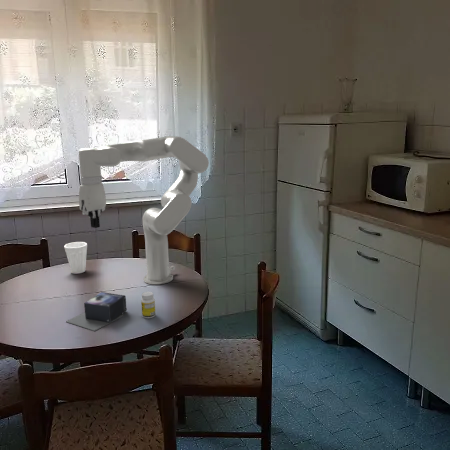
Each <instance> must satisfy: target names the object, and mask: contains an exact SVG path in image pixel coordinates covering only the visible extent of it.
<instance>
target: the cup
mask: <svg viewBox="0 0 450 450" xmlns="http://www.w3.org/2000/svg"><path fill="white" fill-rule="evenodd" d="M63 247H64V251H65V254H66V257H67V261H68V266H69V268H70V272H71V273H72V274H82V273H84V272H86V269H87V267H86V266H87V252H88V251H87V250H88V243H87V242H85V241H75V242H69V243H65V245H64V246H63ZM71 273H70V274H71Z"/></svg>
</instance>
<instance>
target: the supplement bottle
mask: <svg viewBox="0 0 450 450" xmlns="http://www.w3.org/2000/svg"><path fill="white" fill-rule="evenodd" d="M155 301H156V300H155V298H154V292H152V291H144V292H142V294H141V300H140V303H141V315H142V317H143V318H144V319H152V318H154V317H156V302H155Z"/></svg>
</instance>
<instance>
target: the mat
mask: <svg viewBox="0 0 450 450" xmlns="http://www.w3.org/2000/svg"><path fill="white" fill-rule="evenodd" d="M124 316H125V314H124V313H122V314H121V315H120V316H118V317H117V318H116V319H114V320H113V321H112V322H110V323H109V322H103V321H97V320H91V319H86V317H85V311H84V312H82V313H81V314H78V315H75V316H74V317H72V318H70V319H68V320H65V321H66V323H67V324H71V325H74V326H77V327H80V328H84V329H86V330H89V331H93V332H96V331H99V330H100V329H101V328H104V327H105V326H107V325H109V324H111V323H113V322H114V321H117V320H118V319H121V318H122V317H124Z"/></svg>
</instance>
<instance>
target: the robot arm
mask: <svg viewBox="0 0 450 450" xmlns="http://www.w3.org/2000/svg"><path fill="white" fill-rule="evenodd" d="M166 158H175V159H177V161H179V175H178V177H177V178H176V180H175V181H174V182H173V184H171V186H170V187H169V188H168V189H167V190H166V191H165V192H164V193H163V195H162V197H161V199H160V205H161V207H162V209H161V208H159V207H150V208H148V209H147V210H146V211H144V212H143V215H142V229H143V233H144V242H145V246H144V247H145V260H146V263H145V264H146V275H145V276H144V277H143V282H144V283H146V284H149V285H164V284H167V283H170V282H171V281H172V280H173V279H174V275H173V274H171V273H172V271H174V270H176V266H175V265H171V266H170V265H169V264H170V263H169V241H168V235H169V234H171V232H173V231H174V230H175V229H176V228H177V227H178V225H179V224H180V223H181V222H182V220H184V218H185V217H186V216H187V215H188V214H189V212H190V210H191V208H192V205H193V204H192V198H191V197H190V196H191V194H192V193H193V192H194V190H195V189H196V187H197V185H198V182H199V181H198V179H199V174H202V173H205V171H207V170H208V168H209V164H210V162H209V158H208V157H207V155H206V154H205V153H204V152H203V151H201V150H200V149H199V148H197V147H196V146H194V144H192V143H191V142H189V141H188V140H186V139H185V138H183V137H181V136H176V135H175V136H174V135H168V136H161V137H155V138H153V137H152V138H148V139H141V140H134V141H128V142H121V143H114V144H108V145H102V146H100V147H98V148H95V147H84V148H83V147H82V148H80V149H79V150H78V159H79V160H78V161H79V170H80V171H79V172H80V182H81V184H80V185H79V188H78V189H79V190H78V207H79V210H80V211H82V212H81V214H82V215H83V216H84V215H86V216H87V217H88V218H89V219H90V227H91V228H94V229H98V228H100V227H101V224H100V223H101V222H100V217H101V215H102V213H103V212H104V211H106V206H107V199H106V191H105V188H104V184H103V181H102V180H103V176H102V169H101V167H106V168H107V167H108V168H109V167H110V168H112V167H116V166H118V165H119V164H121V163H124V162H139V163H140V162H141V163H142V162H149V161H156V160H160V159H166ZM173 281H174V280H173Z"/></svg>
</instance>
